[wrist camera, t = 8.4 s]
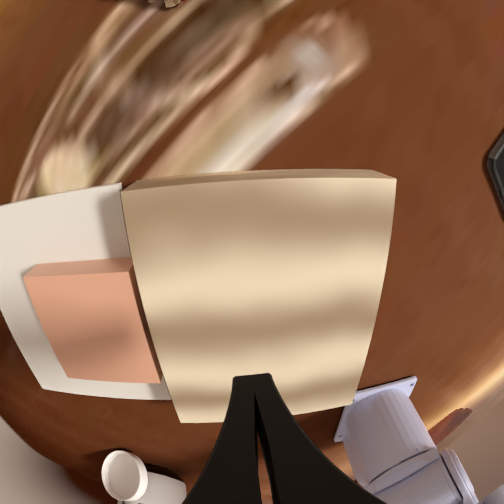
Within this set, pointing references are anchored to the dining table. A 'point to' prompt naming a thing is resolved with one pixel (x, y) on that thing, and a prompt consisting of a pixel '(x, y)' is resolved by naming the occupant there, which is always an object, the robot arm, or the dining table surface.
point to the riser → (261, 280)
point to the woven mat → (168, 2)
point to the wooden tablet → (446, 426)
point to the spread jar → (140, 481)
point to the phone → (497, 167)
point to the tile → (95, 319)
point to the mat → (61, 250)
